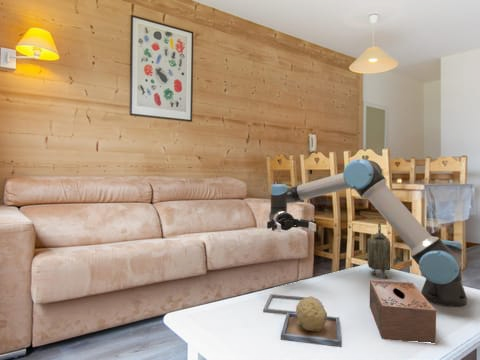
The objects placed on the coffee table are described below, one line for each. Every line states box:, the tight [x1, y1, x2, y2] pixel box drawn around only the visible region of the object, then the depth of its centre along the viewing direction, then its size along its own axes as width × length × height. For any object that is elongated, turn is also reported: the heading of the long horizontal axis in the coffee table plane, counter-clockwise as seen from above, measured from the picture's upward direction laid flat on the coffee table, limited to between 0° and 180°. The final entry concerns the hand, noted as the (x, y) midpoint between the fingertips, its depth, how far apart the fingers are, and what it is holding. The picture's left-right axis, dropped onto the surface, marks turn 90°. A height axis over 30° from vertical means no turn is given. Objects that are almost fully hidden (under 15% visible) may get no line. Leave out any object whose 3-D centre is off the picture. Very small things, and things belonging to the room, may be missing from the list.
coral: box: [295, 295, 328, 331], centre depth 108 cm, size 10×10×10 cm
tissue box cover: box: [369, 279, 437, 343], centre depth 113 cm, size 26×14×10 cm, turn 167°
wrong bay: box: [262, 293, 306, 316], centre depth 127 cm, size 15×16×1 cm
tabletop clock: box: [366, 223, 392, 280], centre depth 167 cm, size 14×9×25 cm, turn 164°
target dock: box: [280, 312, 342, 348], centre depth 108 cm, size 17×17×1 cm
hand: (297, 228), depth 131 cm, fingers open, 13 cm apart
